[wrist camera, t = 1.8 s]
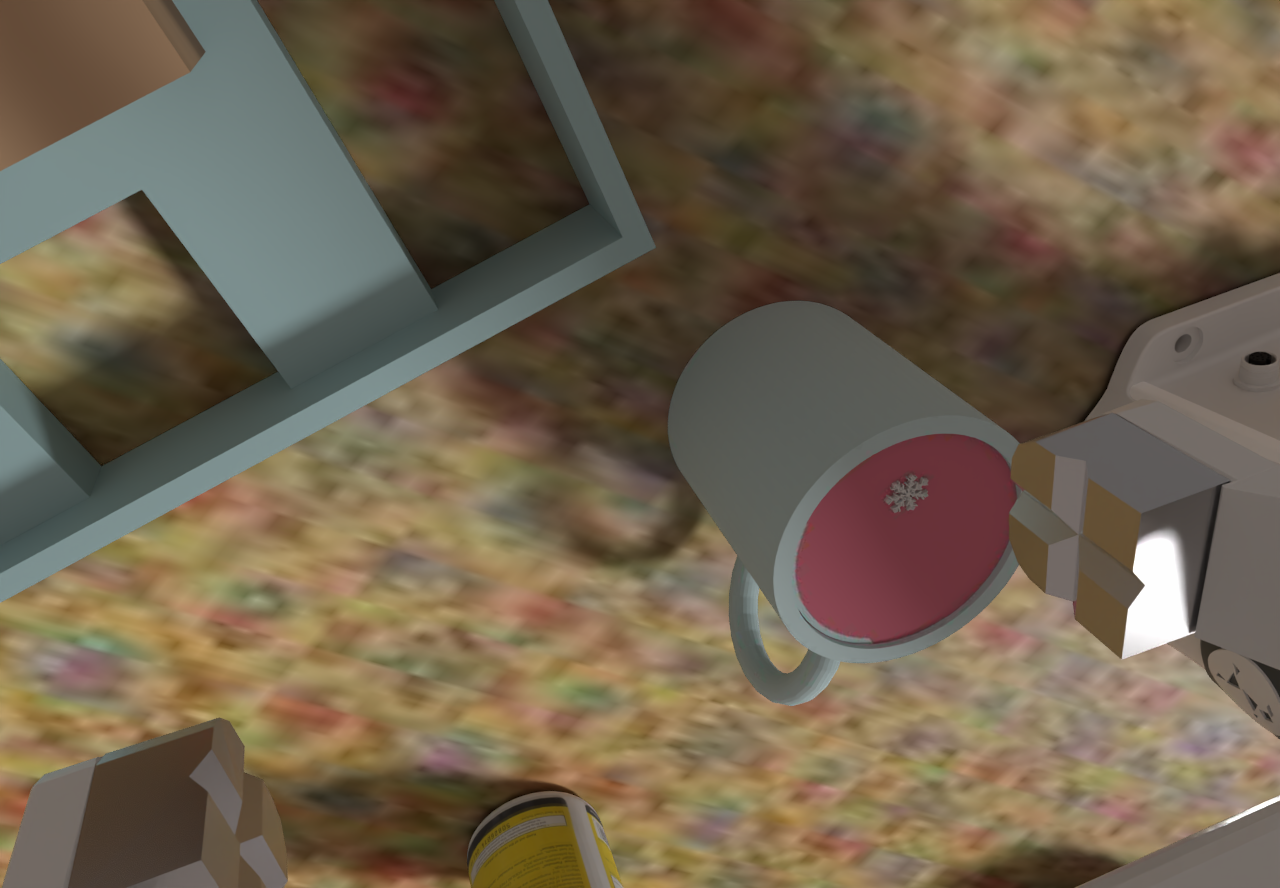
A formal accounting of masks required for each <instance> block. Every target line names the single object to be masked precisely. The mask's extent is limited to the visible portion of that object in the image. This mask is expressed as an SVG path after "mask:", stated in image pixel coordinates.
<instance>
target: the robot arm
mask: <svg viewBox="0 0 1280 888" xmlns="http://www.w3.org/2000/svg"><path fill="white" fill-rule="evenodd" d="M1011 480H1012V481H1013V482H1014V483H1015V484H1016V485H1017V486H1018V487H1019V488H1020V489H1021V490H1022V492H1021V494H1020V496H1019V497H1018V499H1017V501H1016V502H1015V504H1014V505H1013V507H1012V509H1011V510H1010V512H1009V540H1010V543H1011V545H1012V548H1013V551H1014V554H1015V556H1016V559H1017V562H1018V563H1019V565H1020V566H1021V568H1022V569H1023V571H1024V572H1025V573H1026V575H1027V576H1028V578H1029V579H1030V580H1031V581H1032V582H1033V583H1035V584H1036V585H1037V586H1038V587H1039V588H1040V589H1041V590H1042V591H1043V592H1044V593H1046V594H1049V595H1053V596H1056V597H1060V598H1063V599H1066V600H1070V601H1073V607H1074V615H1075V620H1076V621H1078V622H1079V623H1080V624H1081V625H1082V626H1083V627H1085V628H1086V629H1087V630H1088V631H1089V632H1090V633H1092V634H1093V635H1094V636H1095V637H1096V638H1097V639H1099V640H1100V641H1101V642H1102V643H1103V644H1104V645H1105V646H1107V647H1108V648H1109V649H1110V650H1111V651H1112V652H1114V653H1115V654H1116V655H1117V656H1118V657H1119V658H1121V659H1125V658H1127V657H1130V656H1133V655H1136V654H1138V653H1141V652H1144V651H1147V650H1149V649H1152V648H1155V647H1157V646H1160V645H1163V644H1166V643H1167V644H1168V645H1170V646H1171V647H1173V648H1174V649H1176V650H1178V651H1179V652H1181V653H1182V654H1184V655H1185V656H1187V657H1188V658H1190V659H1191V660H1192V661H1194V662H1195V663H1197V664H1198V665H1200V666H1201V667H1202V668H1204V669H1205V670H1206V671H1207V674H1208V675H1209V677H1210V678H1211V679H1212V680H1213V681H1214V682H1215V683H1216V684H1217V685H1218V686H1219V687H1220V688H1221V689H1222V690H1223V691H1224V692H1225V693H1226V694H1227V695H1228V696H1229V697H1230V698H1231V699H1232V700H1233V701H1234V702H1235V703H1236V704H1237V705H1238V706H1239V707H1240V708H1241V709H1242V710H1243V711H1245V712H1246V713H1247V714H1248V715H1249V716H1250V717H1251V718H1253V719H1254V720H1255V721H1256V722H1257V723H1259V724H1260V725H1261V726H1262V727H1264V728H1265V729H1267V730H1268V731H1270V732H1271V733H1273V734H1274V735H1275V736H1276V737H1278V738H1279V739H1280V273H1278V274H1275V275H1272V276H1270V277H1267V278H1264V279H1261V280H1259V281H1256V282H1253V283H1250V284H1248V285H1245V286H1242V287H1239V288H1237V289H1234V290H1231V291H1228V292H1226V293H1223V294H1220V295H1217V296H1215V297H1212V298H1209V299H1206V300H1204V301H1201V302H1198V303H1195V304H1193V305H1190V306H1187V307H1184V308H1182V309H1179V310H1176V311H1173V312H1171V313H1168V314H1165V315H1162V316H1160V317H1157V318H1154V319H1151V320H1149V321H1147V322H1145V323H1144V324H1142V325H1141V326H1140V327H1139V328H1137V329H1136V330H1135V332H1134V333H1133V334H1132V335H1131V337H1130V338H1129V340H1128V341H1127V343H1126V345H1125V347H1124V349H1123V351H1122V353H1121V355H1120V357H1119V360H1118V362H1117V364H1116V367H1115V369H1114V372H1113V374H1112V377H1111V380H1110V382H1109V385H1108V388H1107V390H1106V391H1105V393H1104V395H1103V396H1102V398H1101V399H1100V401H1099V402H1098V404H1097V405H1096V406H1095V408H1094V409H1093V410H1092V412H1091V413H1090V414H1089V416H1088V417H1087V418H1086V419H1085V421H1084V422H1081V423H1078V424H1075V425H1072V426H1070V427H1067V428H1064V429H1061V430H1058V431H1055V432H1052V433H1050V434H1047V435H1044V436H1041V437H1038V438H1035V439H1032V440H1030V441H1027V442H1024V443H1021V444H1018V446H1017V448H1016V451H1015V453H1014V455H1013V457H1012V463H1011ZM244 747H245V746H244V745H243V743H242V741H241V740H240V738H239V736H238V735H237V733H236V731H235V730H234V728H233V726H232V725H231V723H230V721H227V720H225V719H222V718H216V719H213V720H210V721H207V722H204V723H201V724H198V725H195V726H191V727H188V728H185V729H182V730H179V731H176V732H173V733H170V734H166V735H163V736H160V737H157V738H154V739H151V740H148V741H145V742H141V743H138V744H135V745H132V746H129V747H126V748H123V749H120V750H116V751H113V752H110V753H107V754H105V755H104V756H103V757H97V758H94V759H91V760H88V761H85V762H82V763H78V764H75V765H72V766H69V767H66V768H63V769H60V770H57V771H54V772H51V773H48V774H45V775H44V776H43V777H42V778H41V779H40V780H39V781H38V782H37V783H36V784H35V785H34V786H33V787H32V789H31V792H30V795H29V798H28V802H27V805H26V808H25V812H24V815H23V818H22V822H21V825H20V828H19V832H18V835H17V838H16V842H15V845H14V848H13V852H12V855H11V858H10V862H9V865H8V868H7V872H6V875H5V878H4V882H3V885H2V888H283V887H284V886H285V884H286V882H287V881H288V876H287V851H286V845H285V840H284V834H283V829H282V824H281V820H280V817H279V814H278V812H277V809H276V806H275V803H274V801H273V798H272V796H271V794H270V792H269V790H268V789H267V787H266V785H265V783H264V781H263V780H262V779H260V778H257V777H255V776H252V775H250V774H247V773H245V772H244ZM1075 888H1280V795H1279V796H1277V797H1275V798H1272V799H1270V800H1268V801H1266V802H1263V803H1261V804H1259V805H1257V806H1255V807H1252V808H1250V809H1248V810H1246V811H1243V812H1241V813H1239V814H1237V815H1235V816H1232V817H1230V818H1228V819H1226V820H1224V821H1221V822H1219V823H1217V824H1215V825H1212V826H1210V827H1208V828H1206V829H1204V830H1201V831H1199V832H1197V833H1195V834H1193V835H1190V836H1188V837H1186V838H1184V839H1181V840H1179V841H1177V842H1175V843H1173V844H1170V845H1168V846H1166V847H1164V848H1161V849H1159V850H1157V851H1155V852H1153V853H1150V854H1148V855H1146V856H1144V857H1142V858H1139V859H1137V860H1135V861H1133V862H1130V863H1128V864H1126V865H1124V866H1122V867H1119V868H1117V869H1115V870H1113V871H1110V872H1108V873H1106V874H1104V875H1102V876H1099V877H1097V878H1095V879H1093V880H1091V881H1088V882H1086V883H1084V884H1082V885H1079V886H1077V887H1075Z"/></svg>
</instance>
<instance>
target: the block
mask: <svg viewBox="0 0 1280 888" xmlns="http://www.w3.org/2000/svg"><path fill="white" fill-rule="evenodd" d="M204 53H205V50H204V49H203V47H202V45H201V44H200V42H199V41H198V39H197V38H196V36H195V35H194V33H193V32H192V30H191V29H190V27H189V26H188V24H187V22H186V21H185V19H184V18H183V16H182V15H181V13H180V12H179V10H178V9H177V7H176V6H175V4H174V3H173V1H172V0H0V171H2V170H4V169H5V168H7V167H9V166H11V165H13V164H15V163H17V162H19V161H21V160H23V159H25V158H27V157H29V156H30V155H32V154H34V153H36V152H38V151H40V150H42V149H44V148H46V147H48V146H50V145H52V144H53V143H55V142H57V141H59V140H61V139H63V138H65V137H67V136H69V135H71V134H73V133H75V132H77V131H78V130H80V129H82V128H84V127H86V126H88V125H90V124H92V123H94V122H96V121H98V120H100V119H102V118H103V117H105V116H107V115H109V114H111V113H113V112H115V111H117V110H119V109H121V108H123V107H125V106H127V105H128V104H130V103H132V102H134V101H136V100H138V99H140V98H142V97H144V96H146V95H148V94H150V93H152V92H153V91H155V90H157V89H159V88H161V87H163V86H165V85H167V84H169V83H171V82H173V81H175V80H176V79H178V78H180V77H182V76H184V75H186V74H188V73H190V72H191V71H192V69H193V68H194V67H195V65H196V64H197V63H198V61H199V60H200V59H201V57H202V56H203V55H204Z"/></svg>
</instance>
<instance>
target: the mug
mask: <svg viewBox="0 0 1280 888" xmlns="http://www.w3.org/2000/svg"><path fill="white" fill-rule="evenodd" d="M668 437H669V444H670V448H671V452H672V455H673V458H674V460H675V462H676V464H677V466H678V468H679V470H680V471H681V473H682V474H683V476H684V477H685V479H686V480H687V482H688V483H689V485H690V486H691V488H692V489H693V491H694V492H695V494H696V495H697V497H698V498H699V500H700V501H701V502H702V504H703V505H704V507H705V508H706V510H707V511H708V513H709V514H710V516H711V517H712V519H713V520H714V522H715V523H716V525H717V526H718V527H719V529H720V530H721V532H722V533H723V535H724V536H725V538H726V539H727V541H728V542H729V544H730V545H731V547H732V548H733V550H734V551H735V552H736V554H737V559H736V562H735V565H734V569H733V572H732V578H731V585H730V591H729V621H730V630H731V637H732V641H733V645H734V649H735V653H736V656H737V659H738V661H739V663H740V665H741V667H742V670H743V672H744V674H745V676H746V677H747V679H748V680H749V681H750V683H751V684H752V685H753V687H754V688H755V689H756V690H757V691H758V692H759V693H760V694H762V695H763V696H764V697H766V698H767V699H769V700H770V701H772V702H774V703H779V704H784V705H790V706H794V705H798V704H801V703H804V702H807V701H810V700H812V699H813V698H814V697H816V696H817V695H818V694H819V693H820V692H821V691H823V690H824V689H825V688H826V687H827V685H828V684H829V682H830V681H831V679H832V677H833V676H834V674H835V673H836V671H837V669H838V667H839V664H840V661H841V662H849V663H874V662H882V661H888V660H892V659H897V658H901V657H904V656H907V655H910V654H913V653H916V652H918V651H921V650H923V649H925V648H928V647H930V646H932V645H934V644H936V643H938V642H940V641H941V640H943V639H945V638H947V637H948V636H950V635H951V634H953V633H954V632H956V631H958V630H959V629H960V628H962V627H963V626H964V625H966V624H967V623H968V622H970V621H971V620H972V619H973V618H974V617H976V616H977V615H978V614H979V613H980V612H981V611H982V610H983V609H984V608H985V607H987V606H988V605H989V604H990V603H991V601H992V600H993V599H994V598H995V597H996V596H997V595H998V594H999V593H1000V591H1001V590H1002V589H1003V588H1004V586H1005V585H1006V584H1007V582H1008V581H1009V579H1010V578H1011V577H1012V575H1013V574H1014V572H1015V571H1016V569H1017V567H1018V565H1019V563H1018V562H1017V559H1016V556H1015V554H1014V551H1013V548H1012V545H1011V543H1010V540H1009V512H1010V510H1011V509H1012V507H1013V505H1014V504H1015V502H1016V501H1017V499H1018V497H1019V496H1020V494H1021V492H1022V490H1021V489H1020V488H1019V487H1018V486H1017V485H1016V484H1015V483H1014V482H1013V481H1012V480H1011V463H1012V457H1013V455H1014V453H1015V451H1016V448H1017V446H1018V444H1020V443H1019V442H1018V441H1017V440H1016V439H1015V438H1014V437H1013V436H1012V435H1010V434H1009V433H1008V432H1006V431H1005V430H1004V429H1002V428H1001V427H1000V426H998V425H997V424H996V423H994V422H993V421H992V420H990V419H989V418H987V417H986V416H985V415H983V414H982V413H981V412H979V411H978V410H976V409H975V408H974V407H972V406H971V405H970V404H968V403H967V402H965V401H964V400H963V399H961V398H960V397H959V396H957V395H956V394H955V393H953V392H952V391H950V390H949V389H948V388H946V387H945V386H944V385H942V384H941V383H939V382H938V381H937V380H935V379H934V378H933V377H931V376H930V375H928V374H927V373H926V372H924V371H923V370H922V369H920V368H919V367H918V366H916V365H915V364H913V363H912V362H911V361H909V360H908V359H907V358H905V357H904V356H902V355H901V354H900V353H898V352H897V351H896V350H894V349H893V348H891V347H890V346H889V345H887V344H886V343H885V342H883V341H882V340H881V339H879V338H878V337H876V336H875V335H874V334H872V333H871V332H870V331H868V330H867V329H865V328H864V327H863V326H861V325H860V324H859V323H857V322H856V321H854V320H853V319H852V318H850V317H849V316H848V315H846V314H844V313H843V312H841V311H839V310H837V309H835V308H833V307H830V306H827V305H824V304H821V303H816V302H810V301H785V302H777V303H773V304H768V305H765V306H762V307H759V308H755V309H753V310H751V311H748V312H746V313H744V314H742V315H740V316H738V317H736V318H735V319H733V320H731V321H730V322H728V323H727V324H725V325H724V326H723V327H721V328H720V329H719V330H717V331H716V332H715V333H714V334H713V335H712V336H710V337H709V338H708V339H707V340H706V341H705V342H704V343H703V344H702V346H701V347H700V348H699V349H698V350H697V351H696V352H695V354H694V355H693V356H692V358H691V359H690V360H689V362H688V364H687V365H686V367H685V368H684V370H683V372H682V374H681V376H680V378H679V380H678V382H677V384H676V387H675V389H674V392H673V396H672V399H671V403H670V408H669V415H668ZM759 588H760V589H761V591H762V592H763V594H764V595H765V597H766V598H767V600H768V601H769V602H770V604H771V605H772V607H773V608H774V610H775V611H776V613H777V614H778V616H779V617H780V619H781V620H782V622H783V623H784V625H785V626H786V627H787V629H788V630H789V632H790V633H791V634H792V635H793V636H794V637H795V639H796V640H798V641H799V642H800V643H801V644H802V645H803V646H805V647H806V648H808V651H807V654H806V655H805V657H804V659H803V660H802V662H801V664H800V666H798V667H797V668H796V669H795V670H794V671H793V672H791V673H788V674H786V673H782V672H781V671H779V670H777V668H776V667H775V666H774V665H773V663H772V662H771V661H770V659H769V657H768V655H767V653H766V651H765V649H764V645H763V642H762V638H761V635H760V629H759V622H758V593H759Z"/></svg>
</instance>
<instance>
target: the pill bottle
mask: <svg viewBox="0 0 1280 888" xmlns="http://www.w3.org/2000/svg"><path fill="white" fill-rule="evenodd" d="M467 865H468V872H469V878H470V884H471V888H623V886H622V883H621V880H620V877H619V874H618V871H617V868H616V865H615V862H614V859H613V856H612V853H611V850H610V847H609V844H608V841H607V838H606V836H605V833H604V830H603V826H602V824H601V821H600V819H599V817H598V815H597V813H596V812H595V810H594V809H593V808H592V807H591V805H589V804H588V803H587V802H586V801H584V800H583V799H581V798H579V797H577V796H575V795H572V794H569V793H565V792H558V791H543V792H536V793H531V794H527V795H524V796H521V797H518V798H515V799H513V800H511V801H509V802H507V803H505V804H503V805H502V806H500V807H498V808H497V809H496V810H494V811H493V812H492V813H490V814H489V815H488V816H487V817H486V818H485V819H484V820H483V821H482V822H481V824H480V825H479V826H478V827H477V829H476V830H475V832H474V834H473V836H472V838H471V840H470V843H469V847H468V852H467Z"/></svg>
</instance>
